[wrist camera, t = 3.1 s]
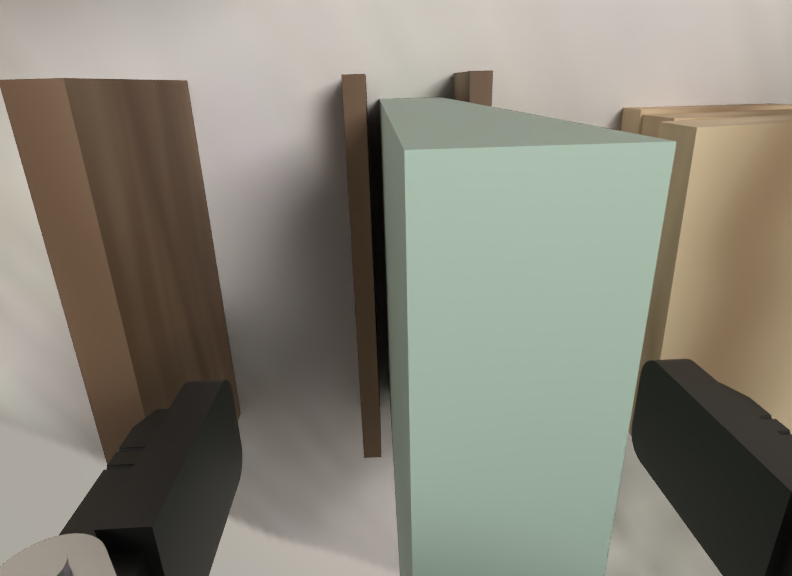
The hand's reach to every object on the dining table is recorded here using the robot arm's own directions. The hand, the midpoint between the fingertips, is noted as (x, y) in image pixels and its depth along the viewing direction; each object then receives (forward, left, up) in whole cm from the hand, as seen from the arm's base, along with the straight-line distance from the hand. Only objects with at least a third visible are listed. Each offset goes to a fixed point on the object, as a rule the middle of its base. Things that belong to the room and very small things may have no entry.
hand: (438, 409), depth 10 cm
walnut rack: (+3, 0, -9) cm, 10 cm away
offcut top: (-10, 0, -6) cm, 11 cm away
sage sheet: (0, 0, -9) cm, 9 cm away
